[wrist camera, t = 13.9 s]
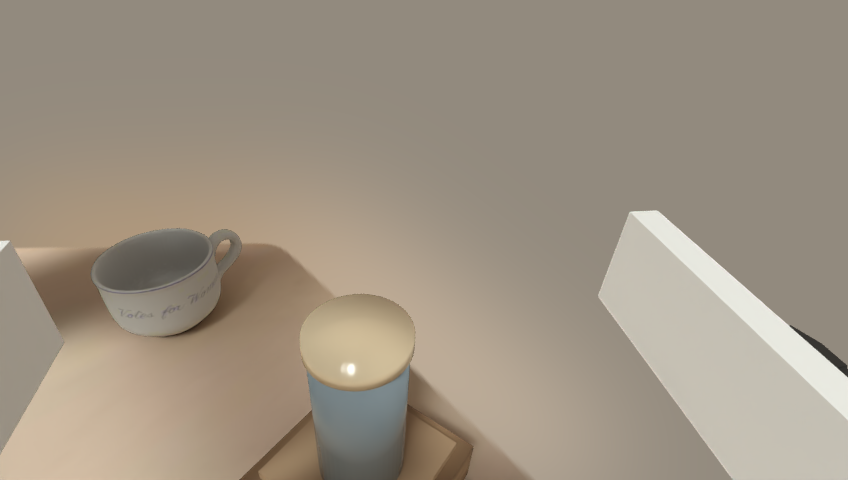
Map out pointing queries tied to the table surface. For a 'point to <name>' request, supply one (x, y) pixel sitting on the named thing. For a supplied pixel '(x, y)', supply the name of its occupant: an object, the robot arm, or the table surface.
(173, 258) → the teacup
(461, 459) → the pedestal
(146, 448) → the table surface
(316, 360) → the canister
